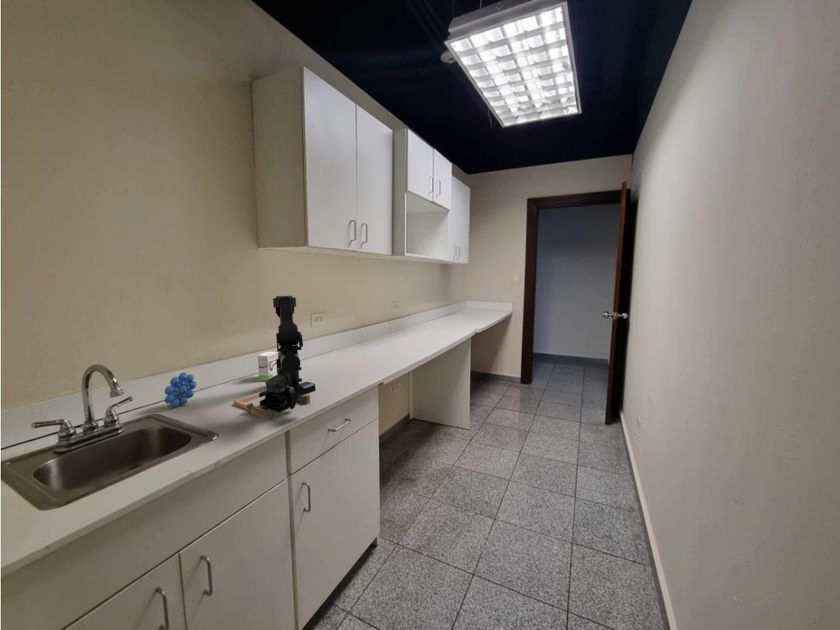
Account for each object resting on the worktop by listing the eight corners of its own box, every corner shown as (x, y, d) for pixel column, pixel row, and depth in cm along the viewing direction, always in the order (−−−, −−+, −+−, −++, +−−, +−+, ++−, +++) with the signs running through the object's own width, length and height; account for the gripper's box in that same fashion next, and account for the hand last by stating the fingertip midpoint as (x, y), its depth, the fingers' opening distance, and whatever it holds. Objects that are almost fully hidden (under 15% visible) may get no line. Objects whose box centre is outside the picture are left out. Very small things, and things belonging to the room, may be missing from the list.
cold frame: (290, 397, 134) (289, 390, 134) (310, 403, 128) (309, 395, 128) (247, 412, 119) (247, 404, 119) (268, 420, 114) (267, 411, 113)
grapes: (189, 398, 133) (186, 368, 132) (201, 400, 131) (199, 370, 130) (157, 409, 122) (154, 377, 121) (171, 412, 120) (167, 378, 119)
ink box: (268, 381, 154) (267, 355, 153) (258, 381, 155) (257, 355, 154) (279, 375, 163) (277, 351, 161) (269, 375, 164) (268, 351, 162)
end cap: (295, 405, 126) (294, 387, 125) (281, 412, 120) (280, 393, 119) (273, 402, 129) (272, 384, 129) (258, 409, 123) (257, 390, 122)
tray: (268, 393, 139) (267, 389, 138) (287, 399, 132) (287, 395, 132) (233, 404, 127) (233, 400, 127) (253, 411, 121) (253, 407, 120)
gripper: (251, 367, 117) (254, 411, 118) (287, 374, 107) (290, 423, 109) (280, 360, 126) (282, 401, 128) (315, 366, 116) (317, 411, 118)
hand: (292, 408), depth 120 cm, fingers closed
